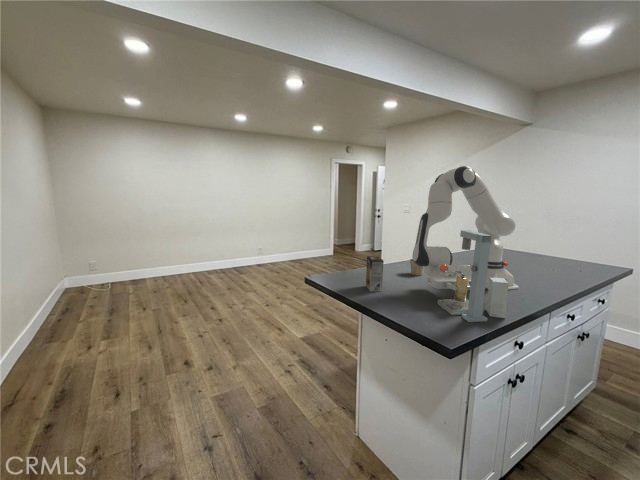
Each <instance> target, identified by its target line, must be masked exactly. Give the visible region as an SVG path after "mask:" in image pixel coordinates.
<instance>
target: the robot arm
mask: <svg viewBox="0 0 640 480" xmlns="http://www.w3.org/2000/svg"><path fill="white" fill-rule="evenodd" d="M458 191H461V192H462V194H463V195H464V197H465V199H466V202H467V203H468V205H469V207H470V208H471V210H472V211H473V213H474V214H476V215H477V217H476V218H475V222H474V224H475V227H476V229H477V232H478V233H482V234H487V235H491V243H490V251H489V259H488V268H487V276H486V284H485V289H487V290H488V285H489V277H494V278H504V279H505V280H506V281H507V282H508V283H509V284H508V291H509V290H519V289H520V287H519V285H518V284H516V283H515V277H514V275H513V274H511V273H510V271H508V270H507V269H506V268H505V267H508V266H510V264H509V262H506V261H503V253H504V246H503V243H502V241H501V237H505V236H506V237H507V236H510V235H512V234H513V233H514V232H515V229H516V222H515V220H514V219H513V218H512V217H510V216H509V215H508V214H507V213H506V211H505V210H503V209H504V208H502V207H501V206H500V204H499V203H498V202H497V201H496V200H495V198H494V196H493V195H492V193H491V191H490V190H489V188H488V186H487V184H486V183H485V181H484V180H483V179H482V177H481V176H480V175H479V174H478V173H477V172H476V171H475V170H474V169H473V168H472V167H471V166H468V165H462V166H459V167H455V168H452V169H450V170H448V171H446V172H444V173H441V174H439V175H437V177H436V178H435V180H434V182H433V183H432V184H431V185H430V188H429V191H428V196H427V208H426V211H425V212H424V213H423V214H422V215H421V217H420V220H419V225H418V229H417V233H416V240H415V245H414V248H413V252H412V258H411V259H413V261H414V262H415V263H416V264H417V265H418V266H419V267H423V266H424V267H423V273H424V275H425V276H426V279H425V280H426V282H428V283H429V285H430V287H432V288H434V289H437V290H438V289H440V290H441V289H443V290H444V289H445V290H447V289H451V290H453V291H455V290H457V288H458V286H456V278H457V276H461V274H465V275H464V277H468V278H469V279H468V288H467V291H470V287H471V278H472V276H471V275H468V274H466V273H465V271H447V272H445V273H443V272H441V271H440V269H439V267H440V266H441V265H442V264H446V265H453V253H452V251H451V250H450V249H449V248H448V247H447V246H428V245H427V242H428V236H429V231H430V228H431V227H433V226H434V225H436V224H439V223H442V222H444V221H446V220H447V219H448V218H449V217H450V216H451V214H452V211H453V197H452V196H453V193H454V192H458Z"/></svg>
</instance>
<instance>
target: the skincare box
mask: <svg viewBox="0 0 640 480" xmlns="http://www.w3.org/2000/svg"><path fill="white" fill-rule="evenodd" d="M508 284H509V283H508V282H507V281H506V280H505V279H504V278H494V277H489V285H488V289H487V299H486V307H485V308H486V309H485V310H486V312H487V314H488V315H489V317H492V318H498V319H499V318H500V319H506V315H507V303H508V291H509V290H508Z"/></svg>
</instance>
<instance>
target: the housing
mask: <svg viewBox="0 0 640 480" xmlns="http://www.w3.org/2000/svg"><path fill="white" fill-rule="evenodd" d="M464 275H466V273H465V274H461V276H457V278H456V286H458V288H457V290H454V298H453V299H454V300H456V301H459V302H466V299H467V293H468V290H467V288H468V279H469V278H468V277H464Z"/></svg>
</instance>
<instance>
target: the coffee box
mask: <svg viewBox="0 0 640 480" xmlns="http://www.w3.org/2000/svg"><path fill="white" fill-rule="evenodd" d="M365 272H366V273H365V287H366V288H367V289H368V291H369V292H382V290H383V276H384V259H382V258H381V257H380V256H379V255H378V256H374V255H367V256H366V271H365Z"/></svg>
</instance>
